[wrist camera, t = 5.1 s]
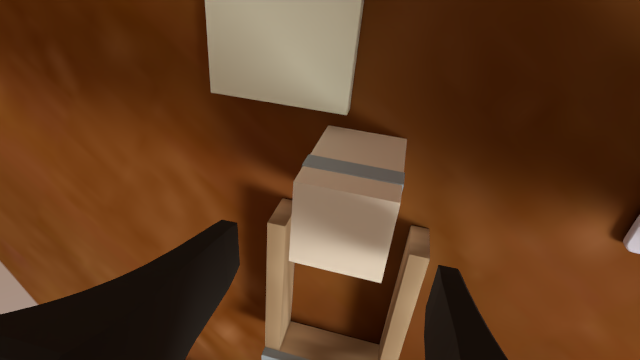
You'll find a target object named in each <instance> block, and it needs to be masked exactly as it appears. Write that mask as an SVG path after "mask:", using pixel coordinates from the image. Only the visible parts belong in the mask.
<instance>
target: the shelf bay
mask: <svg viewBox="0 0 640 360" xmlns="http://www.w3.org/2000/svg"><path fill="white" fill-rule="evenodd" d="M291 216H292V200H289V199H284V198H282V200H281V201H280V203H279V205H278V206H277V208H276V209H275V211H274V213H273V214H272V216H271V217H270V219H269V221H268V222H267V270H266V326H265V348H264V351H263V353H262V360H398V358H399V355H400V352H401V349H402V346H403V343H404V339H405V336H406V333H407V330H408V327H409V324H410V320H411V317H412V314H413V311H414V308H415V304H416V301H417V298H418V295H419V292H420V289H421V285H422V282H423V279H424V276H425V273H426V270H427V266H428V263H429V260H430V242H429V229H426V228H422V227H417V226H412V225H411V227H410V231H409V235H408V238H407V242H406V246H405V250H404V254H403V257H402V261H401V265H400V269H399V272H398V276H397V280H396V284H395V288H394V291H393V295H392V299H391V303H390V307H389V310H388V314H387V318H386V322H385V325H384V329H383V333H382V337H381V341H380V344H379V345H378V344H375V343H371V342H367V341H363V340H360V339H356V338H352V337H348V336H344V335H341V334H337V333H333V332H329V331H326V330H322V329H318V328H314V327H311V326H307V325H303V324H299V323H296V322H292V321H291V307H292V293H293V278H294V264H295V262H291V261H289V249H290V232H291Z"/></svg>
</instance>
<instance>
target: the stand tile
mask: <svg viewBox="0 0 640 360" xmlns="http://www.w3.org/2000/svg"><path fill="white" fill-rule="evenodd" d="M363 5H364V0H205V10H206V26H207V41H208V57H209V72H210V88H211V93H217V94H223V95H229V96H235V97H241V98H247V99H253V100H259V101H265V102H271V103H277V104H283V105H288V106H294V107H300V108H306V109H312V110H318V111H324V112H330V113H336V114H342V115H347V114H348V112H349V110H350V103H351V96H352V88H353V80H354V73H355V65H356V58H357V50H358V43H359V35H360V28H361V20H362V13H363Z"/></svg>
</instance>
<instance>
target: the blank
mask: <svg viewBox="0 0 640 360" xmlns="http://www.w3.org/2000/svg"><path fill="white" fill-rule="evenodd" d="M406 144H407V139H404V138H398V137H393V136H387V135H381V134H376V133H370V132H364V131H359V130H353V129H347V128H342V127H336V126H330V125H328V127H327V128H326V130H325V131H324V133H323V135H322V136H321V138H320V140H319V141H318V143H317V144H316V146H315V148H314V149H313V151H312V152H311V154H308V156H307V158H306V159H305V161H304V162H303V164H302V169H301V170H300V172H299V173H298V175H297V177H296V178H295V180H294V183H293V200H292V216H291V232H290V249H289V261H291V262H295V263H299V264H303V265H308V266H312V267H316V268H320V269H324V270H328V271H332V272H337V273H341V274H345V275H349V276H353V277H357V278H361V279H366V280H370V281H374V282H378V283H381V282H382V278H383V274H384V270H385V266H386V262H387V257H388V253H389V249H390V245H391V241H392V236H393V232H394V228H395V224H396V220H397V216H398V211H399V207H400V203H401V194H402V190H403V186H404V178H405V173H404V164H405V154H406Z"/></svg>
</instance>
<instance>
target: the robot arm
mask: <svg viewBox="0 0 640 360" xmlns="http://www.w3.org/2000/svg"><path fill="white" fill-rule="evenodd" d="M623 244H624V246H625V247H626V248H627V249H628V250H629V251H630V252H633V253H638V254H640V214H639V216H638V217H637V219H636V221H635V222H634V224H633V225H632V227H631V228H630V230H629V231H628V233H627V235H626V236H625V238H624V240H623ZM239 265H240V261H239V245H238V229H237V223H235V222H230V221H226V220H221V221H219V222H217V223H215V224H214V225H212V226H211V227H209V228H207V229H206V230H204V231H203V232H201V233H199V234H198V235H196V236H195V237H193V238H191V239H190V240H188V241H186V242H185V243H183V244H182V245H180V246H178V247H177V248H175V249H173V250H171V251H170V252H168V253H166V254H164V255H162V256H161V257H159V258H157V259H155V260H153V261H151V262H150V263H148V264H146V265H144V266H142V267H140V268H138V269H136V270H134V271H131V272H129V273H127V274H125V275H123V276H120V277H118V278H116V279H113V280H111V281H108V282H106V283H103V284H101V285H98V286H95V287H93V288H90V289H88V290H85V291H82V292H79V293H76V294H73V295H70V296H67V297H64V298H61V299H57V300H54V301H51V302H48V303H44V304H40V305H37V306H33V307H29V308H25V309H21V310H17V311H13V312H9V313H5V314H0V360H185V358H186V356H187V354H188V352H189V351H190V349H191V347H192V346H193V344H194V342H195V340H196V339H197V337H198V336H199V334H200V333H201V331H202V330H203V328H204V326H205V325H206V323H207V322H208V320H209V319H210V317H211V316H212V314H213V313H214V311H215V309H216V308H217V306H218V305H219V303H220V302H221V300H222V298H223V297H224V295H225V294H226V292H227V290H228V289H229V287H230V285H231V283H232V281H233V279H234V276H235V274H236V272H237V270H238V268H239ZM424 343H425V360H508V359H507V357H506V356H505V354H504V353H503V351H502V350H501V348H500V346H499V345H498V343H497V342H496V340H495V338H494V337H493V335H492V334H491V332H490V330H489V328H488V327H487V325H486V323H485V321H484V320H483V318H482V316H481V314H480V312H479V311H478V309H477V307H476V305H475V303H474V301H473V299H472V297H471V295H470V293H469V291H468V289H467V287H466V284H465V282H464V280H463V278H462V276H461V273H460V272H459V270H458V269H456V268H451V267H446V266H441V265H438V269H437V272H436V275H435V279H434V282H433V285H432V289H431V292H430V295H429V299H428V302H427V305H426V313H425V330H424Z"/></svg>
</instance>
